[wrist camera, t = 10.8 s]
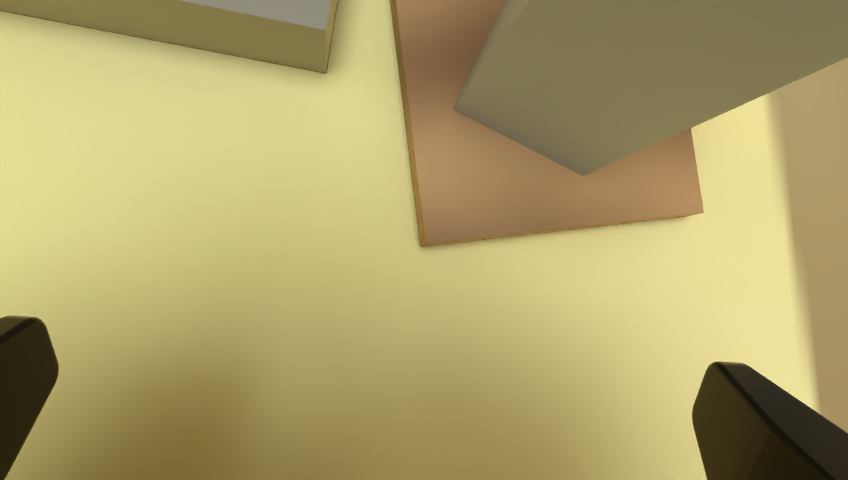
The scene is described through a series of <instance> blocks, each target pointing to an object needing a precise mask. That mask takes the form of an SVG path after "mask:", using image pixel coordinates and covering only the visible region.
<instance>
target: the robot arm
mask: <svg viewBox="0 0 848 480" xmlns="http://www.w3.org/2000/svg"><path fill="white" fill-rule="evenodd" d="M58 371H59V367H58V361H57V358H56V355H55V352H54V349H53V346H52V343H51V340H50V337H49V334H48V330H47V327H46V325H45V323H44V322H43V321H42V320H41V319H39V318H36V317H25V316H5V317H2V318H0V480H4V479H5V477H6V476H7V474H8V472H9V470H10V469H11V467H12V465H13V463H14V461H15V459H16V457H17V455H18V454H19V452H20V450H21V448H22V446H23V444H24V442H25V440H26V438H27V436H28V435H29V433H30V431H31V429H32V427H33V425H34V423H35V421H36V419H37V417H38V415H39V414H40V412H41V410H42V408H43V406H44V404H45V402H46V400H47V398H48V396H49V395H50V393H51V391H52V389H53V387H54V385H55V383H56V380H57V377H58ZM692 420H693V426H694V430H695V434H696V438H697V442H698V446H699V450H700V454H701V457H702V461H703V465H704V469H705V473H706V477H707V480H848V433H846V432H845V431H844V430H842V429H841V428H839V427H838V426H836V425H835V424H833V423H832V422H830V421H829V420H827V419H826V418H825V417H823V416H822V415H820V414H819V413H817V412H816V411H814V410H813V409H811V408H810V407H808V406H807V405H805V404H804V403H802V402H801V401H799V400H798V399H796V398H795V397H794V396H792V395H791V394H789V393H788V392H786V391H785V390H783V389H782V388H780V387H779V386H777V385H776V384H774V383H773V382H771V381H770V380H768V379H767V378H765V377H764V376H763V375H761V374H760V373H758V372H757V371H755V370H754V369H752V368H751V367H749V366H748V365H746V364H743V363H733V362H714V363H711V364H710V365H709V366H708V368H707V370H706V372H705V375H704V378H703V380H702V383H701V386H700V389H699V392H698V394H697V397H696V400H695V403H694V406H693V411H692Z"/></svg>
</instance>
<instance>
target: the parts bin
mask: <svg viewBox="0 0 848 480" xmlns="http://www.w3.org/2000/svg"><path fill="white" fill-rule="evenodd" d="M337 3H338V0H0V10H2V11H7V12H12V13H17V14H22V15H27V16H33V17H38V18H43V19H48V20H53V21H59V22H64V23H69V24H74V25H79V26H84V27H90V28H95V29H100V30H105V31H110V32H116V33H121V34H126V35H131V36H136V37H141V38H147V39H152V40H157V41H162V42H167V43H173V44H178V45H183V46H188V47H193V48H198V49H204V50H209V51H214V52H219V53H224V54H230V55H235V56H240V57H245V58H250V59H255V60H261V61H266V62H271V63H276V64H281V65H287V66H292V67H297V68H302V69H307V70H312V71H318V72H323V73H326V72H327V65H328V59H329V53H330V47H331V41H332V34H333V28H334V22H335V16H336V10H337Z"/></svg>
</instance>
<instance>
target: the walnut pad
mask: <svg viewBox="0 0 848 480" xmlns="http://www.w3.org/2000/svg"><path fill="white" fill-rule="evenodd" d="M390 2H391V10H392V18H393V26H394V34H395V42H396V50H397V59H398V67H399V75H400V83H401V91H402V99H403V108H404V116H405V124H406V132H407V140H408V148H409V157H410V165H411V173H412V181H413V189H414V197H415V205H416V214H417V222H418V230H419V238H420V246H430V245H438V244H447V243H456V242H465V241H474V240H483V239H491V238H500V237H509V236H518V235H527V234H536V233H544V232H553V231H562V230H571V229H580V228H589V227H597V226H606V225H615V224H624V223H633V222H642V221H650V220H659V219H668V218H677V217H685V216H690V215H695V214H700V213H704V211H703V205H702V198H701V192H700V185H699V179H698V172H697V166H696V160H695V153H694V147H693V140H692V134H691V128H689V129H687V130H685V131H683V132H680V133H678V134H676V135H674V136H671V137H669V138H667V139H665V140H663V141H660V142H658V143H656V144H654V145H651V146H649V147H647V148H645V149H643V150H640V151H638V152H636V153H634V154H631V155H629V156H627V157H625V158H623V159H620V160H618V161H616V162H614V163H611V164H609V165H607V166H605V167H602V168H600V169H598V170H596V171H594V172H591V173H589V174H587V175H585V176H582V175H580V174H578V173H576V172H574V171H572V170H570V169H568V168H566V167H565V166H563V165H561V164H559V163H557V162H555V161H553V160H551V159H549V158H547V157H545V156H543V155H541V154H539V153H537V152H535V151H533V150H531V149H529V148H527V147H525V146H523V145H522V144H520V143H518V142H516V141H514V140H512V139H510V138H508V137H506V136H504V135H502V134H500V133H498V132H496V131H494V130H492V129H490V128H488V127H486V126H484V125H482V124H480V123H478V122H477V121H475V120H473V119H471V118H469V117H467V116H465V115H463V114H461V113H459V112H457V111H455V110H453V108H454V106H455V104H456V102H457V100H458V98H459V96H460V93H461V91H462V89H463V87H464V85H465V83H466V81H467V79H468V76H469V74H470V72H471V70H472V68H473V66H474V64H475V62H476V59H477V57H478V55H479V53H480V51H481V49H482V47H483V44H484V42H485V40H486V38H487V36H488V34H489V32H490V30H491V27H492V25H493V23H494V21H495V19H496V17H497V15H498V13H499V10H500V8H501V6H502V4H503V2H504V0H390Z"/></svg>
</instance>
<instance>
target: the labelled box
mask: <svg viewBox="0 0 848 480" xmlns="http://www.w3.org/2000/svg"><path fill="white" fill-rule="evenodd" d="M847 57H848V0H504V2H503V4H502V6H501V8H500V10H499V13H498V15H497V17H496V19H495V21H494V23H493V25H492V27H491V30H490V32H489V34H488V36H487V38H486V40H485V42H484V44H483V47H482V49H481V51H480V53H479V55H478V57H477V59H476V62H475V64H474V66H473V68H472V70H471V72H470V74H469V76H468V79H467V81H466V83H465V85H464V87H463V89H462V91H461V93H460V96H459V98H458V100H457V102H456V104H455V106H454V108H453V110H455V111H457V112H459V113H461V114H463V115H465V116H467V117H469V118H471V119H473V120H475V121H477V122H478V123H480V124H482V125H484V126H486V127H488V128H490V129H492V130H494V131H496V132H498V133H500V134H502V135H504V136H506V137H508V138H510V139H512V140H514V141H516V142H518V143H520V144H522V145H523V146H525V147H527V148H529V149H531V150H533V151H535V152H537V153H539V154H541V155H543V156H545V157H547V158H549V159H551V160H553V161H555V162H557V163H559V164H561V165H563V166H565V167H566V168H568V169H570V170H572V171H574V172H576V173H578V174H580V175H582V176H585V175H587V174H589V173H591V172H594V171H596V170H598V169H600V168H602V167H605V166H607V165H609V164H611V163H614V162H616V161H618V160H620V159H623V158H625V157H627V156H629V155H631V154H634V153H636V152H638V151H640V150H643V149H645V148H647V147H649V146H651V145H654V144H656V143H658V142H660V141H663V140H665V139H667V138H669V137H671V136H674V135H676V134H678V133H680V132H683V131H685V130H687V129H689V128H691V127H694V126H696V125H698V124H700V123H703V122H705V121H707V120H709V119H712V118H714V117H716V116H718V115H720V114H723V113H725V112H727V111H729V110H732V109H734V108H736V107H738V106H740V105H743V104H745V103H747V102H749V101H752V100H754V99H756V98H758V97H760V96H763V95H765V94H767V93H769V92H772V91H774V90H776V89H778V88H781V87H783V86H785V85H787V84H789V83H792V82H794V81H796V80H798V79H801V78H803V77H805V76H807V75H809V74H812V73H814V72H816V71H818V70H821V69H823V68H825V67H827V66H829V65H831V64H834V63H836V62H838V61H840V60H843V59H845V58H847Z"/></svg>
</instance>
